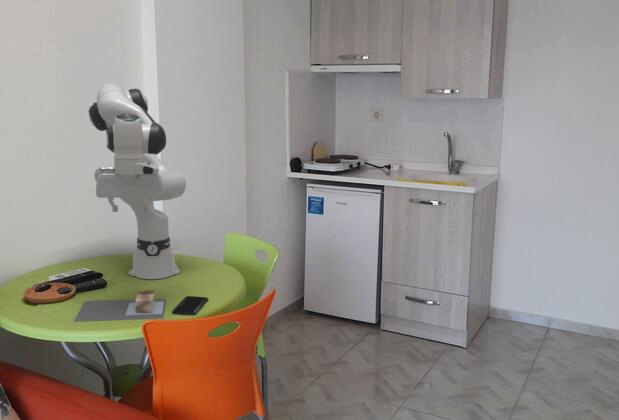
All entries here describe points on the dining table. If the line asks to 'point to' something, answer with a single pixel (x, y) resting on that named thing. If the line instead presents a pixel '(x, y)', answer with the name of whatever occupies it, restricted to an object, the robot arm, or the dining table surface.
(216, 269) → the dining table surface
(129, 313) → the mat
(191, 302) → the phone
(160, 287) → the dining table surface
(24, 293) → the saucer
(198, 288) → the dining table surface
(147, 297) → the card box
